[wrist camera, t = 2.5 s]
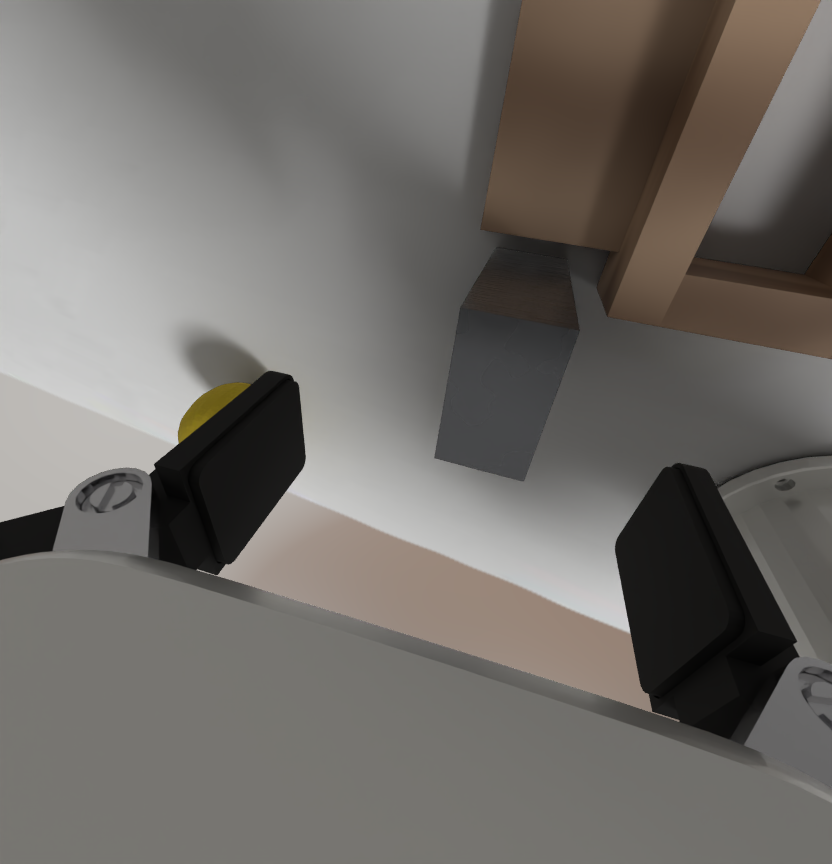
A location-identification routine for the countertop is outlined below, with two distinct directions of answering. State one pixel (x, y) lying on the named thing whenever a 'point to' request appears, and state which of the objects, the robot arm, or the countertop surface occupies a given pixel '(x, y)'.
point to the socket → (653, 156)
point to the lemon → (208, 407)
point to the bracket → (507, 362)
